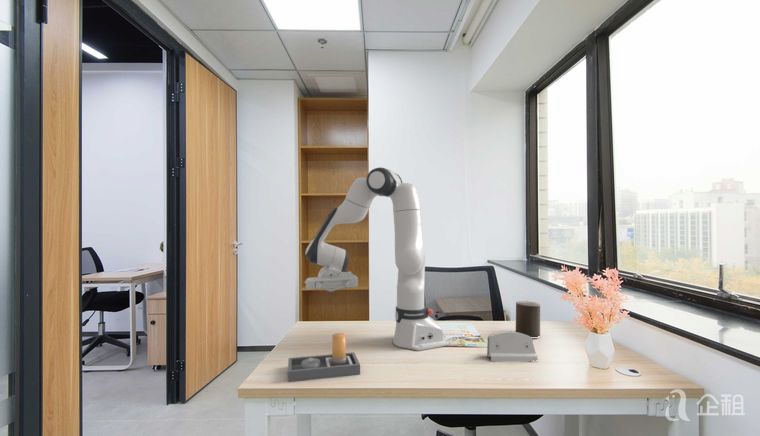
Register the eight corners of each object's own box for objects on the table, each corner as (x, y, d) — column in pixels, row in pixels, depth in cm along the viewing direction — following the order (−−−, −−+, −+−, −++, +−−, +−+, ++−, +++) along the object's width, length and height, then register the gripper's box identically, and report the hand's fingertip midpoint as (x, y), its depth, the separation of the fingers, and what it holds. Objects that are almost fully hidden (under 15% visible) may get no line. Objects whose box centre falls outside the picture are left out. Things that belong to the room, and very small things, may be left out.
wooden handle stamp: (345, 362, 116) (345, 332, 116) (347, 368, 111) (347, 336, 111) (330, 363, 114) (331, 333, 115) (332, 369, 110) (332, 338, 110)
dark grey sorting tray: (354, 360, 119) (354, 348, 120) (360, 374, 109) (360, 361, 109) (288, 367, 114) (288, 354, 114) (287, 381, 103) (288, 367, 104)
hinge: (490, 361, 119) (487, 331, 123) (486, 361, 124) (484, 331, 127) (539, 362, 119) (534, 331, 123) (533, 361, 123) (529, 332, 127)
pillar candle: (525, 339, 142) (525, 303, 142) (510, 332, 151) (511, 298, 152) (545, 338, 144) (545, 302, 144) (530, 331, 154) (530, 297, 154)
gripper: (304, 273, 139) (305, 278, 126) (354, 271, 144) (360, 276, 131) (304, 289, 139) (305, 296, 126) (354, 286, 144) (360, 292, 130)
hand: (334, 285), depth 128 cm, fingers open, 8 cm apart
